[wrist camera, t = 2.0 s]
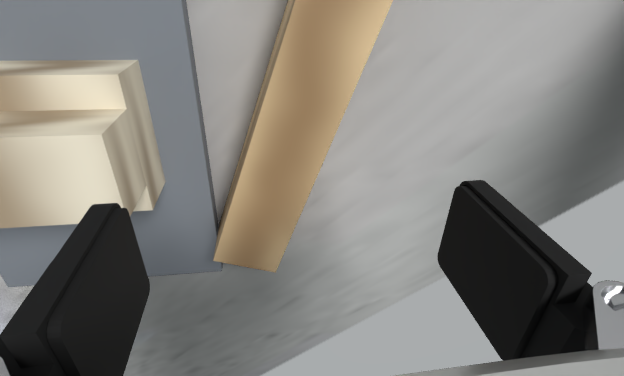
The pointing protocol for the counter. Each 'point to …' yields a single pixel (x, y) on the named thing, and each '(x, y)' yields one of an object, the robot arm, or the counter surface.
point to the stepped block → (74, 141)
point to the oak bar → (295, 124)
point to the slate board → (164, 113)
